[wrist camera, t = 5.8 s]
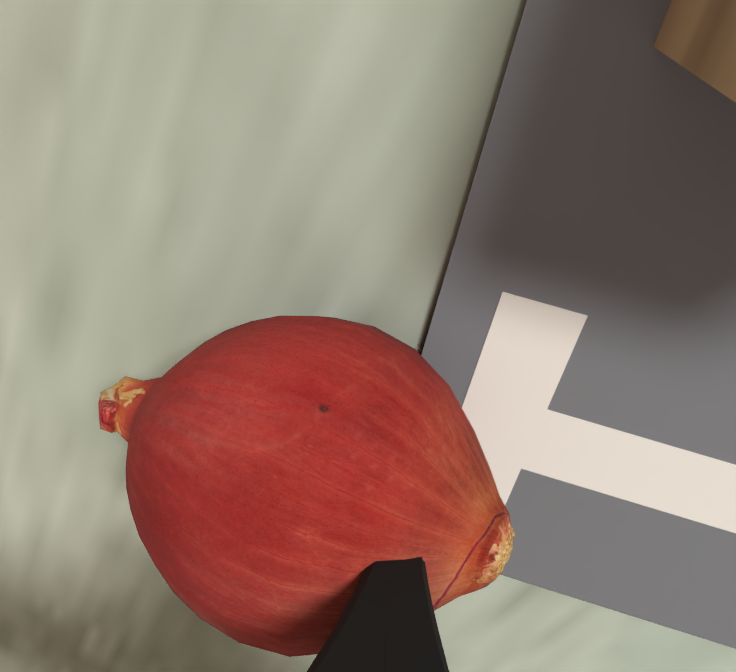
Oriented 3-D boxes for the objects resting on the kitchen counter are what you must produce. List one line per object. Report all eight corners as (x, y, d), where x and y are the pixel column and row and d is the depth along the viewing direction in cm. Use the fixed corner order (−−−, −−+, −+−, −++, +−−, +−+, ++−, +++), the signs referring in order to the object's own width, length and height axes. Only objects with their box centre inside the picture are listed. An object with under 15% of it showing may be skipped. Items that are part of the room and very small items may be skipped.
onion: (455, 709, 13) (116, 550, 15) (543, 434, 15) (227, 325, 17) (446, 787, 8) (-78, 524, 10) (587, 342, 9) (114, 196, 11)
